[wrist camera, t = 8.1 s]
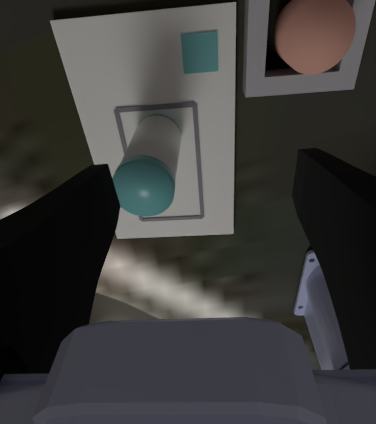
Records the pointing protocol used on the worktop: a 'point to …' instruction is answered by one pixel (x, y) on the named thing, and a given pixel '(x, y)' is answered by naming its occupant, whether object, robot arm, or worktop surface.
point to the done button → (314, 34)
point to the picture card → (161, 103)
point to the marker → (149, 167)
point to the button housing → (289, 78)
